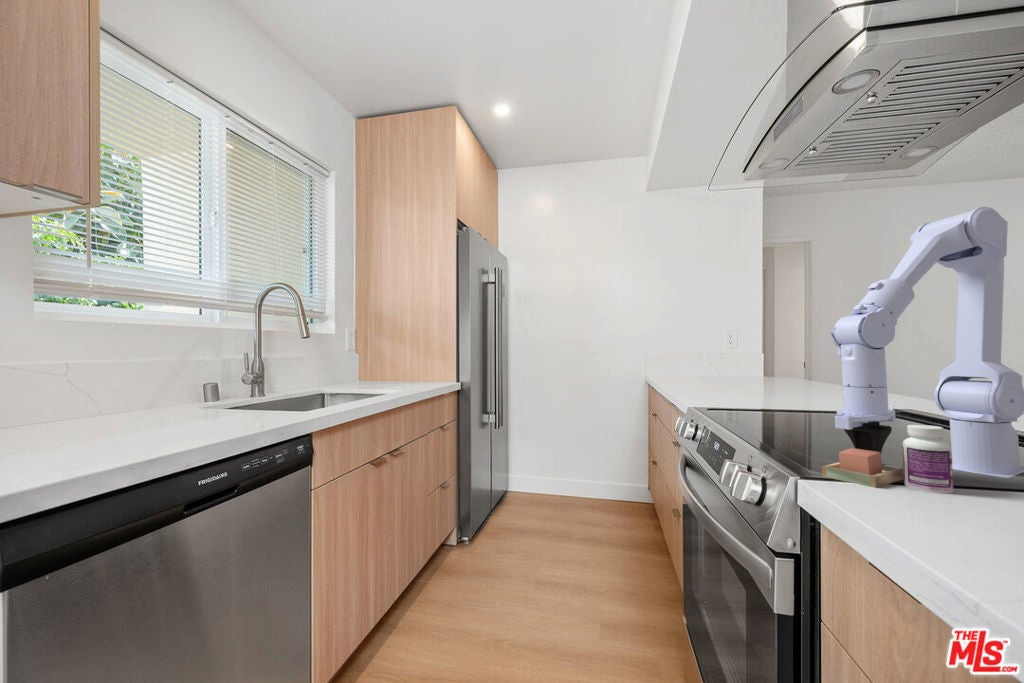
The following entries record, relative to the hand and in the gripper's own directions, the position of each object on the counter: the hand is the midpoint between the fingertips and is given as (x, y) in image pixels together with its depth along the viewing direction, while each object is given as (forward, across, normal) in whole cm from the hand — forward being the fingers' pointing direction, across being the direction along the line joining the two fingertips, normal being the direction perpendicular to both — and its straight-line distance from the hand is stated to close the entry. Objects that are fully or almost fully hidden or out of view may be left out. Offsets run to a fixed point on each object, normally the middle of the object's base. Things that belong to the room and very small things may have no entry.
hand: (869, 468), depth 72 cm
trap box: (+2, -1, 0) cm, 2 cm away
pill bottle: (+2, 0, +8) cm, 8 cm away
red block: (+1, +2, 0) cm, 3 cm away
